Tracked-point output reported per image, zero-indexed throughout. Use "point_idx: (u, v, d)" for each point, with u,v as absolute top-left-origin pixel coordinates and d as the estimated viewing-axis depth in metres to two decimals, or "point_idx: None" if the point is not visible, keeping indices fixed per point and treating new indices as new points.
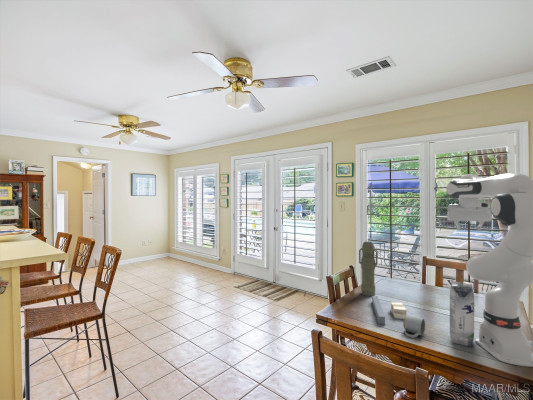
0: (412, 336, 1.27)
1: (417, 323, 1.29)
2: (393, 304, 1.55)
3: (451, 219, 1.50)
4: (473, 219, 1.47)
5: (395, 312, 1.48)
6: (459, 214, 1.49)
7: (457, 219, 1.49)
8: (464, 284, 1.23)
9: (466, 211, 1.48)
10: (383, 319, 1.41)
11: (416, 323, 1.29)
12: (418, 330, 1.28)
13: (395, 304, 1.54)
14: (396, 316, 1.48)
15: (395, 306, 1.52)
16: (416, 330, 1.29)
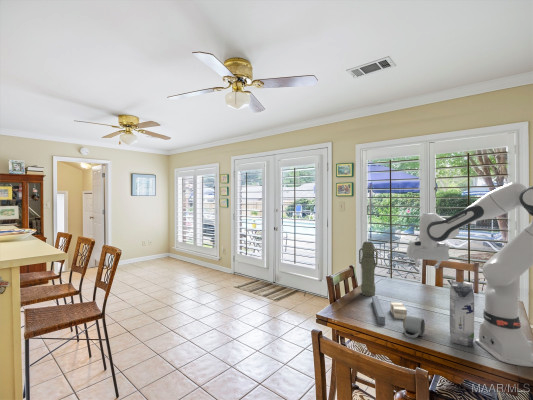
0: (412, 336, 1.27)
1: (417, 323, 1.29)
2: (393, 304, 1.54)
3: None
4: None
5: (395, 312, 1.48)
6: None
7: None
8: (464, 284, 1.23)
9: None
10: (383, 319, 1.41)
11: (415, 323, 1.29)
12: (418, 330, 1.28)
13: (395, 304, 1.54)
14: (396, 316, 1.48)
15: (395, 306, 1.52)
16: (416, 330, 1.28)
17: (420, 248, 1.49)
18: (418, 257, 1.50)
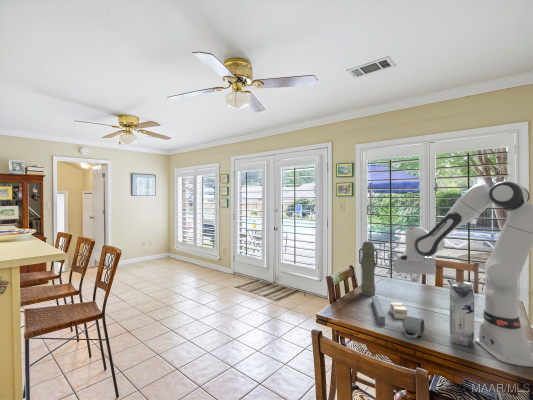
0: (411, 337, 1.27)
1: (416, 323, 1.28)
2: (393, 304, 1.54)
3: None
4: None
5: (396, 312, 1.48)
6: None
7: None
8: (464, 284, 1.23)
9: None
10: (383, 319, 1.41)
11: (415, 324, 1.29)
12: (417, 331, 1.27)
13: (395, 304, 1.54)
14: (397, 316, 1.48)
15: (395, 306, 1.52)
16: (415, 331, 1.28)
17: (406, 262, 1.49)
18: (405, 271, 1.50)
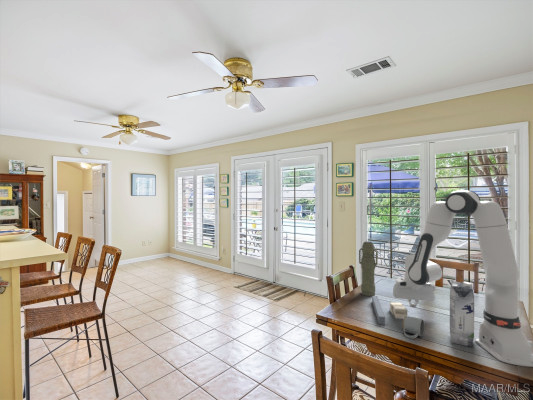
0: (411, 337, 1.26)
1: (416, 324, 1.28)
2: (393, 304, 1.54)
3: None
4: None
5: (396, 312, 1.48)
6: None
7: None
8: (464, 284, 1.23)
9: None
10: (383, 319, 1.41)
11: (415, 324, 1.28)
12: (417, 331, 1.27)
13: (395, 304, 1.54)
14: (397, 316, 1.48)
15: (395, 306, 1.52)
16: (415, 331, 1.28)
17: (405, 288, 1.49)
18: (404, 297, 1.50)
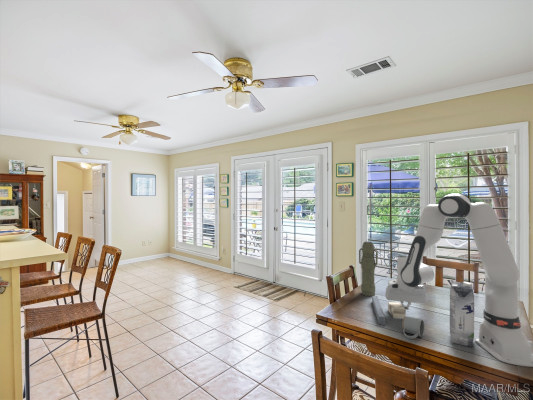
0: (411, 337, 1.26)
1: (416, 324, 1.28)
2: (391, 304, 1.54)
3: None
4: None
5: (395, 312, 1.48)
6: None
7: None
8: (464, 284, 1.23)
9: None
10: (383, 319, 1.41)
11: (415, 324, 1.28)
12: (417, 331, 1.27)
13: (393, 304, 1.54)
14: (396, 316, 1.48)
15: (393, 305, 1.52)
16: (415, 331, 1.28)
17: (398, 290, 1.51)
18: (396, 299, 1.51)
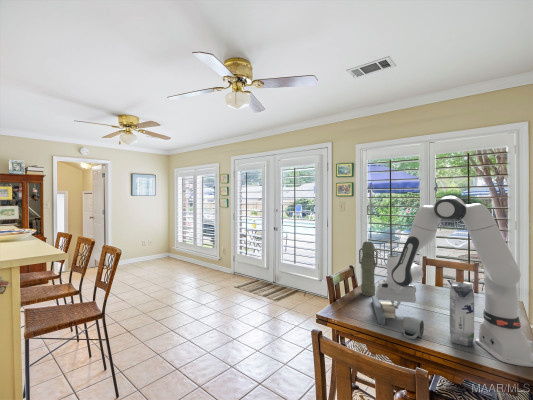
0: (411, 337, 1.26)
1: (416, 324, 1.28)
2: (382, 303, 1.55)
3: None
4: None
5: (384, 311, 1.49)
6: None
7: None
8: (464, 284, 1.23)
9: None
10: (383, 319, 1.41)
11: (414, 324, 1.28)
12: (417, 331, 1.27)
13: (384, 303, 1.55)
14: (385, 315, 1.49)
15: (384, 305, 1.53)
16: (415, 331, 1.27)
17: (388, 290, 1.52)
18: (386, 298, 1.52)
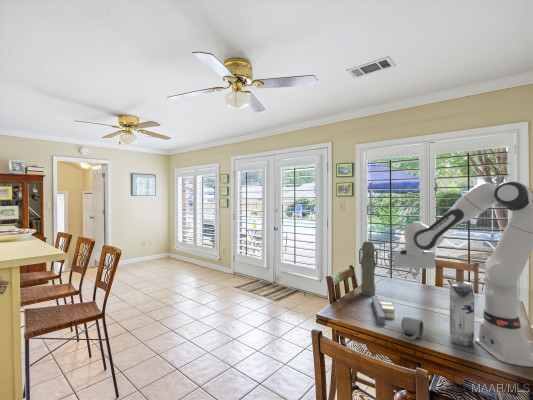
0: (410, 338, 1.25)
1: (415, 325, 1.27)
2: (382, 303, 1.55)
3: None
4: None
5: (383, 311, 1.49)
6: None
7: None
8: (464, 284, 1.23)
9: None
10: (383, 319, 1.41)
11: (414, 325, 1.27)
12: (416, 332, 1.26)
13: (384, 304, 1.55)
14: None
15: (383, 305, 1.53)
16: (414, 332, 1.27)
17: (406, 257, 1.50)
18: (405, 266, 1.50)
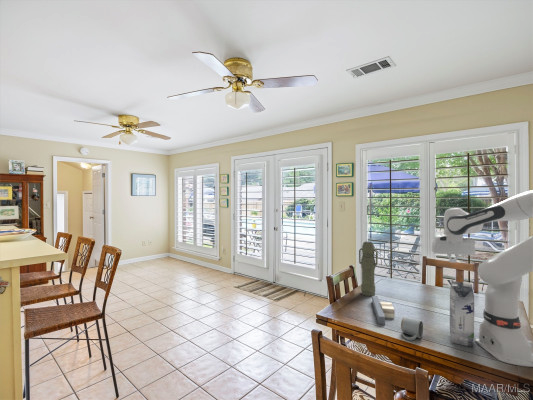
0: (410, 338, 1.25)
1: (415, 325, 1.27)
2: (382, 303, 1.55)
3: None
4: None
5: (383, 311, 1.49)
6: None
7: None
8: (464, 284, 1.23)
9: None
10: (383, 319, 1.41)
11: (413, 325, 1.27)
12: (416, 332, 1.26)
13: (384, 304, 1.55)
14: None
15: (383, 305, 1.53)
16: (414, 332, 1.26)
17: (445, 243, 1.50)
18: (444, 252, 1.51)
